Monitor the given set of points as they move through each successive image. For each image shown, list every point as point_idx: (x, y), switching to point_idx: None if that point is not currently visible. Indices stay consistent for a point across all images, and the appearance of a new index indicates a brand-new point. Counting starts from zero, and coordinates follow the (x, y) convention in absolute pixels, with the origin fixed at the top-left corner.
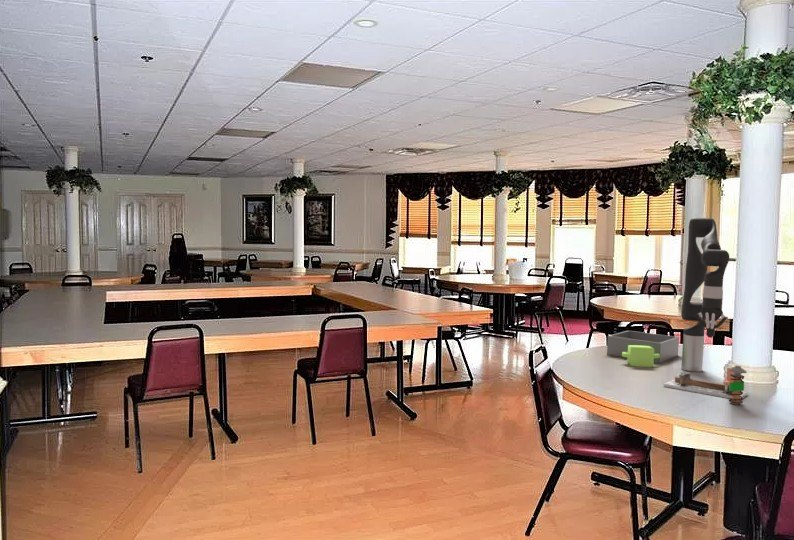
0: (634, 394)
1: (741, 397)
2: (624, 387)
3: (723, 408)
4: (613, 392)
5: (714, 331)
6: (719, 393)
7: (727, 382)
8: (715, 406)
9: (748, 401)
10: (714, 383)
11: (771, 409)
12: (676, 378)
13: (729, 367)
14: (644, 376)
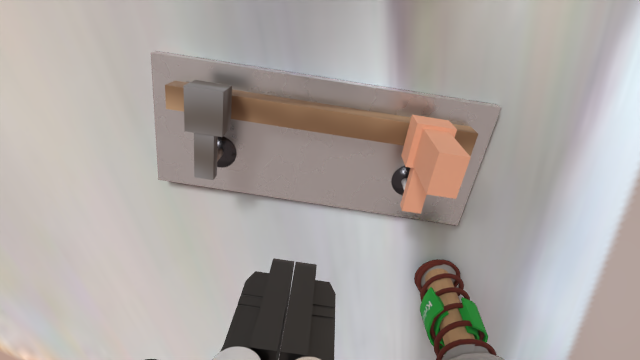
0: (143, 329)
1: (460, 287)
2: (75, 270)
3: (398, 337)
4: (90, 339)
5: (332, 343)
6: (381, 209)
7: (417, 212)
8: (375, 330)
9: (484, 214)
10: (354, 131)
11: (548, 275)
12: (176, 108)
13: (440, 175)
14: (6, 16)
